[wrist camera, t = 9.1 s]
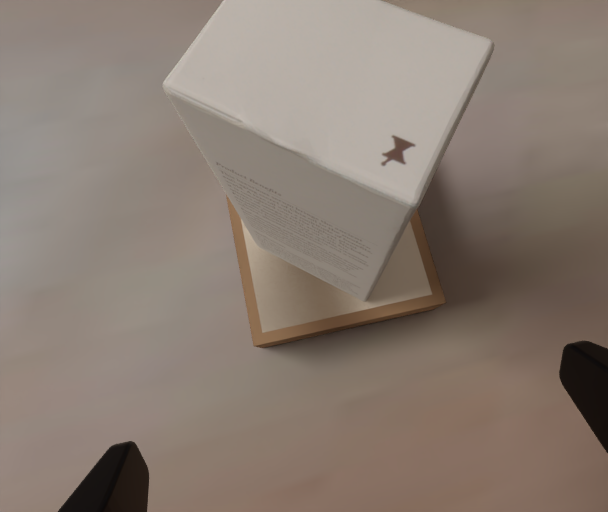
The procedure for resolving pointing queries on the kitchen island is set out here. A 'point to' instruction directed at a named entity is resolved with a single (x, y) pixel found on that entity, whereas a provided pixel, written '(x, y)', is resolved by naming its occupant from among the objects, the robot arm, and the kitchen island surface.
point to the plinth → (330, 290)
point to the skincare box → (326, 122)
